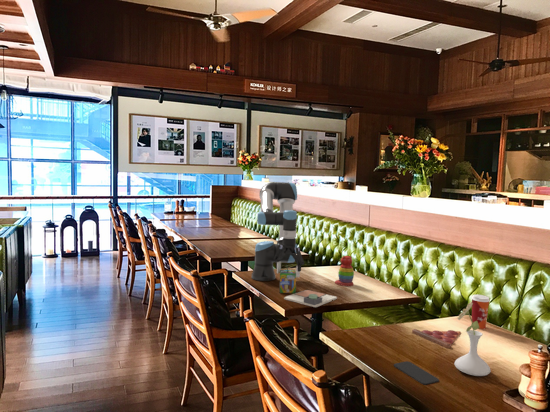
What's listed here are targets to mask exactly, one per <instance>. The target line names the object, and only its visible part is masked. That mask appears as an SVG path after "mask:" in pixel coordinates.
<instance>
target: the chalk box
mask: <svg viewBox="0 0 550 412" xmlns="http://www.w3.org/2000/svg"><path fill="white" fill-rule="evenodd" d="M285 268H286V269H281V270H280V273H279V293H280V294H295V293H297V292H296V291H297V277H296V269H289V268H288V265H287V264H286V265H285Z"/></svg>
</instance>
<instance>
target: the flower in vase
mask: <svg viewBox="0 0 550 412" xmlns="http://www.w3.org/2000/svg"><path fill="white" fill-rule="evenodd" d="M472 304H473V303H472V301H470V302H468V303H467V305H466V308H463V309H462V312H461V313H460V314H458V317H457V318H456V319H457V320H459V321H460V320H461V319H463V318H464V317H465V316H466V315H468V317H469V318H470V322H471V325H469V327H467V328H466V330H465V332H466V333H467V335H468V338H469V351H468V353H466V354H464V355H462V356H459V357H458V358H457V359H455V361H454V366H455V367H456V369H457V370H459V371H461V372H462V373H464V374H467V375H470V376H475V377H484V376H488V375H489V374H490V373H491V371H492V370H491V367H490V366H489V364H488V363H487V362H486V361H485V360H484V359H483V358H481V356H480V355H479V354H478V344H479V340H480V339H481V337H482V336H483V333H482V332H481V331H478V330H480V329H479V324H478V322H477V321H475V322H474V323H473V322H472V315H470V311H469V310H470V309H472Z"/></svg>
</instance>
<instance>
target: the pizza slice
mask: <svg viewBox="0 0 550 412" xmlns="http://www.w3.org/2000/svg"><path fill="white" fill-rule="evenodd" d="M411 333H412V334H414V335H416V336H418V337H421V338H423V339H425V340H428V341H429V342H431V343H434V344H436V345H438V346H441V347H442V348H443V347H444V348H446V349H450V348H451V347H452V346H451V345H453V344H454V342H455V340H457V339H458V337H459V336H460V335H461V333H462V332H461V331H460V330H459V331H458V330H457V331H456V330H452V329H449V330H447V331H446V330H444V331H443V330H441V331H440V330H432V331H431V330H427V329H423V330H422V331H421V330H419V329H416V328H414V329H412V331H411Z"/></svg>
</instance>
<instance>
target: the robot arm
mask: <svg viewBox="0 0 550 412" xmlns="http://www.w3.org/2000/svg"><path fill="white" fill-rule="evenodd" d="M259 199H260V211H258V212H257V224H258V225H260V226H261V225H263V226H279V237H278V238H279V239H277V240H276V243H274V241H272V240H270V241H269V240H267V241H266V240H264V241H260V242H257V243H256V244H255V249H254V267H253V268H252V269H253V271H252V273H251V279H252V280H255V281H261V282H269V281H274V280H276V274H280V270H282V263H289V264H290V263H296V266H295V267H296V268H295V271H296V278H300V277H301V271H302V266H303V265H305V260H304V258H303V256H302V253H301V247H298V244H297V243H296V242H297V239H296V238H297V219H298V214H297V213H298V212H297V211H296V210H294V209H293V208H294V207H293V205H294V204H295V203H296V201H297V200H298V189H297V185H296V183H294V182H279V181H271V182H268V183H267V184H265V185H263V186H262V187H261V189H260V190H259ZM274 200H277V204H279V212H276V211H275V212H274ZM274 263H275V267H276V273H275V268H274Z"/></svg>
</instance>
